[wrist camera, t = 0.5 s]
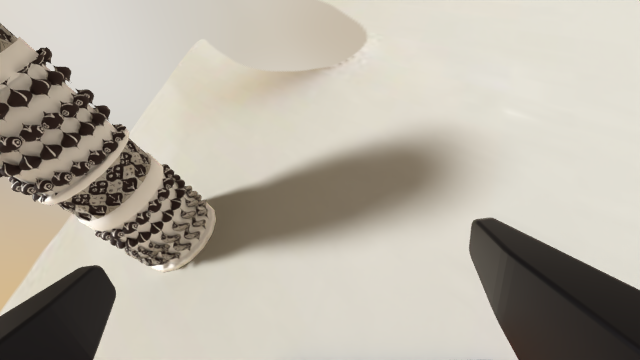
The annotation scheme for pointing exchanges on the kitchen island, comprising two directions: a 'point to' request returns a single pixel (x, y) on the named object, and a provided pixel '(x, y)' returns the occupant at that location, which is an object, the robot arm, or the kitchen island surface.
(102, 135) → the decorative candle
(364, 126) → the kitchen island surface
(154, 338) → the kitchen island surface
